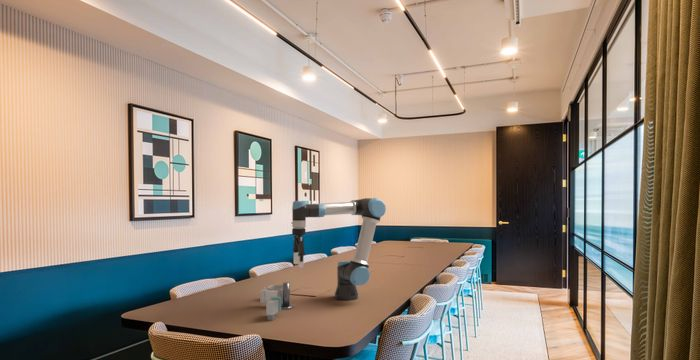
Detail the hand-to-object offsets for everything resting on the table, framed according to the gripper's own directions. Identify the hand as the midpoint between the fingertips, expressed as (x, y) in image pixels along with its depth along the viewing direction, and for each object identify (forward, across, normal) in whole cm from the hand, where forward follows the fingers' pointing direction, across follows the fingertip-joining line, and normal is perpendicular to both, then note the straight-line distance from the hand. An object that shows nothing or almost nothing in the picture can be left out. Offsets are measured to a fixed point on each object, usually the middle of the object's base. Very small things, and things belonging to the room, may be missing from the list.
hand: (298, 265), depth 230 cm
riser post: (+25, -7, -5) cm, 26 cm away
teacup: (+25, -29, -9) cm, 39 cm away
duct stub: (+25, +12, -16) cm, 31 cm away
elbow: (+24, -11, -13) cm, 29 cm away
